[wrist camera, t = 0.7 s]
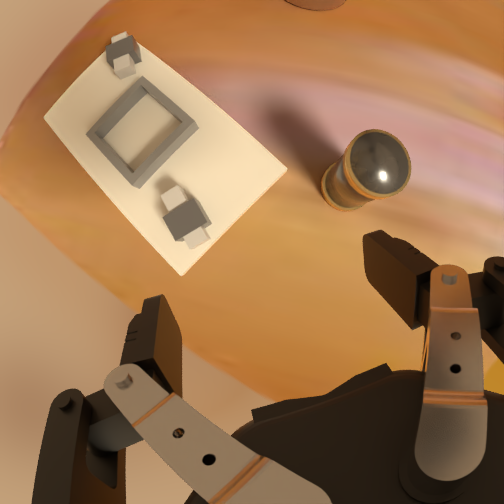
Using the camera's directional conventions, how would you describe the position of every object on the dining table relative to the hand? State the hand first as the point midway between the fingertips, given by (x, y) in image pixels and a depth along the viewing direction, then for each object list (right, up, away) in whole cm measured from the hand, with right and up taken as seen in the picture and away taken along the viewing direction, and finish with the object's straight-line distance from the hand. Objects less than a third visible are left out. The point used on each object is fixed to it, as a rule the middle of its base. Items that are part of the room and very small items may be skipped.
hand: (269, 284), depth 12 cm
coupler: (+8, +8, +18) cm, 21 cm away
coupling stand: (-11, +13, +18) cm, 25 cm away
